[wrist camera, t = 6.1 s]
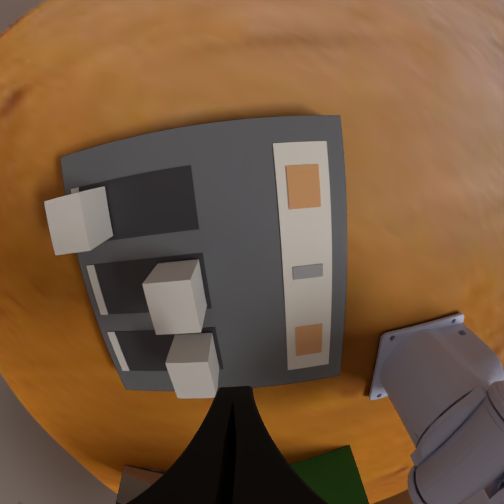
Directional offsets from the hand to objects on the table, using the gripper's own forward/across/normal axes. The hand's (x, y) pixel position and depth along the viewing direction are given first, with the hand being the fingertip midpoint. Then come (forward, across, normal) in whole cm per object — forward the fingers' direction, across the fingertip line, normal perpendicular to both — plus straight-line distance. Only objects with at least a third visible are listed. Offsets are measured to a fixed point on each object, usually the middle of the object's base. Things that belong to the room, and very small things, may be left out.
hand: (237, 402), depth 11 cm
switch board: (+9, +2, -3) cm, 10 cm away
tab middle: (+7, +3, -3) cm, 8 cm away
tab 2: (+7, +3, +2) cm, 8 cm away
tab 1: (+7, +8, -8) cm, 13 cm away
